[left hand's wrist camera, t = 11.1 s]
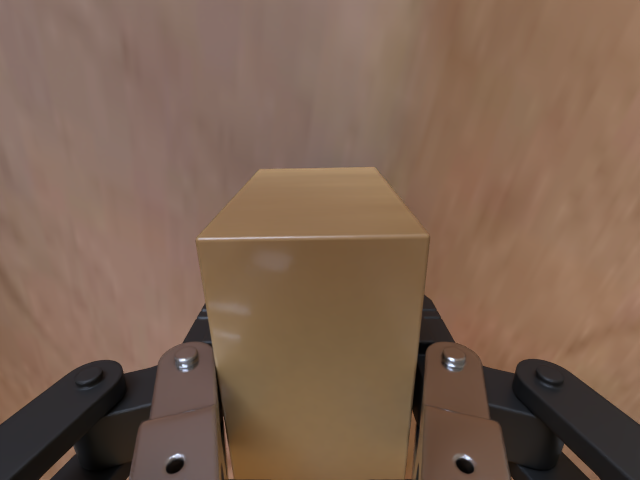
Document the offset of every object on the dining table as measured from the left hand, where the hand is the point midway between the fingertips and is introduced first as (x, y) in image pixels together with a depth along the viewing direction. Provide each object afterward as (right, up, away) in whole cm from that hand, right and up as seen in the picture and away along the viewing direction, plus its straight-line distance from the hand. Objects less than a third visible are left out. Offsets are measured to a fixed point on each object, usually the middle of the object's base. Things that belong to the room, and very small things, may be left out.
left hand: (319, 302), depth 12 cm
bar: (0, -20, +11) cm, 22 cm away
